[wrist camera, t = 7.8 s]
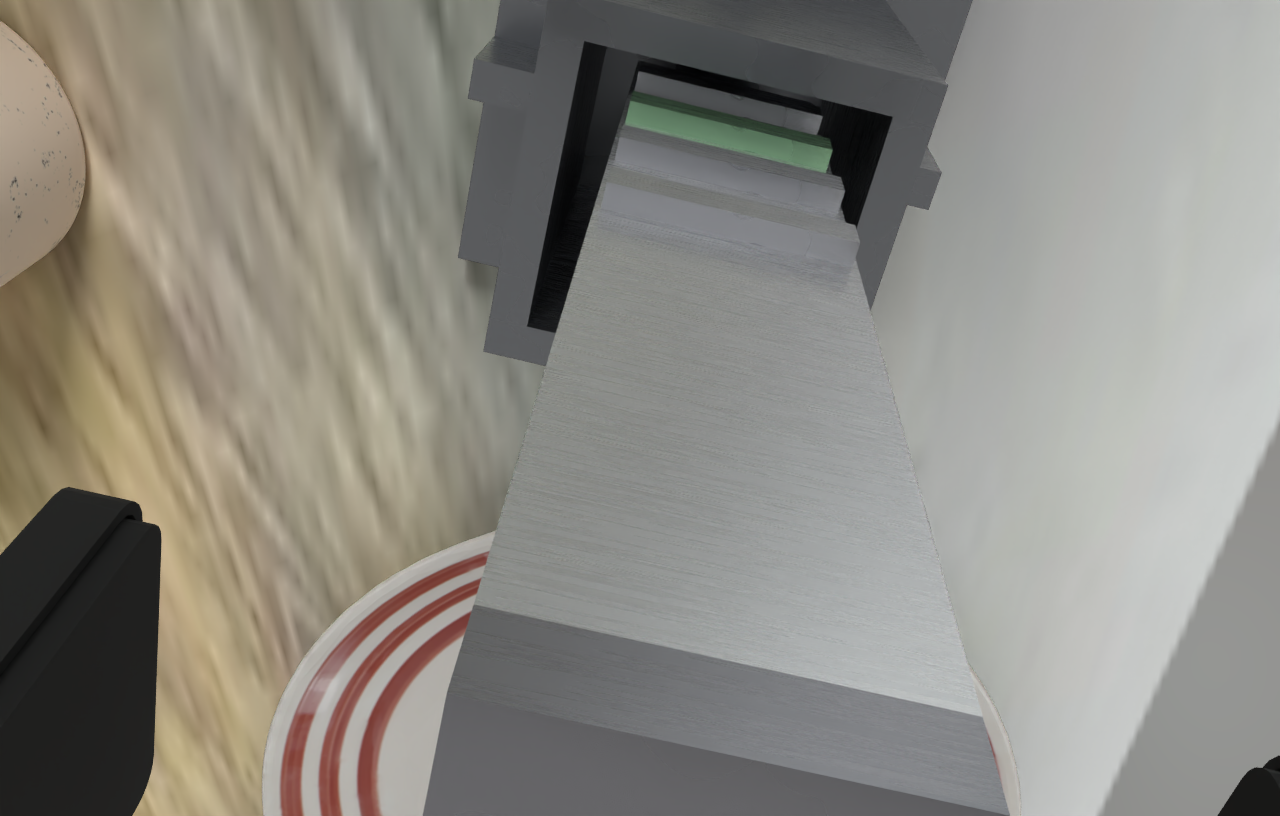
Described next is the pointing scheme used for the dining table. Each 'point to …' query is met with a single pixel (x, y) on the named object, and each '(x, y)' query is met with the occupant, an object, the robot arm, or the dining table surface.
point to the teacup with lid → (34, 158)
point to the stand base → (704, 45)
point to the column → (714, 514)
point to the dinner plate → (409, 698)
